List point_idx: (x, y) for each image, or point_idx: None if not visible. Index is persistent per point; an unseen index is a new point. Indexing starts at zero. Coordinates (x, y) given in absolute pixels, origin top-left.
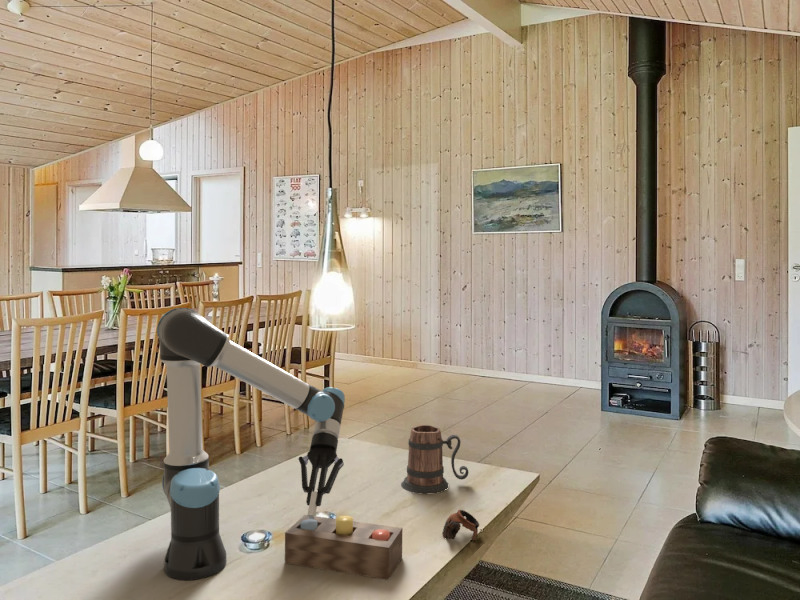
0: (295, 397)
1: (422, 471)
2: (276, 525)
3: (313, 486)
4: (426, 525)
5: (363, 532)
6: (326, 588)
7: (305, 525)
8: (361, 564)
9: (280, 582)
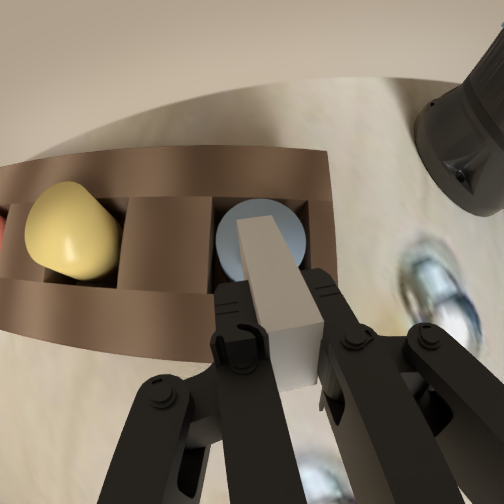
0: None
1: None
2: None
3: (348, 413)
4: (22, 499)
5: (21, 243)
6: (144, 126)
7: (264, 204)
8: None
9: (262, 119)
